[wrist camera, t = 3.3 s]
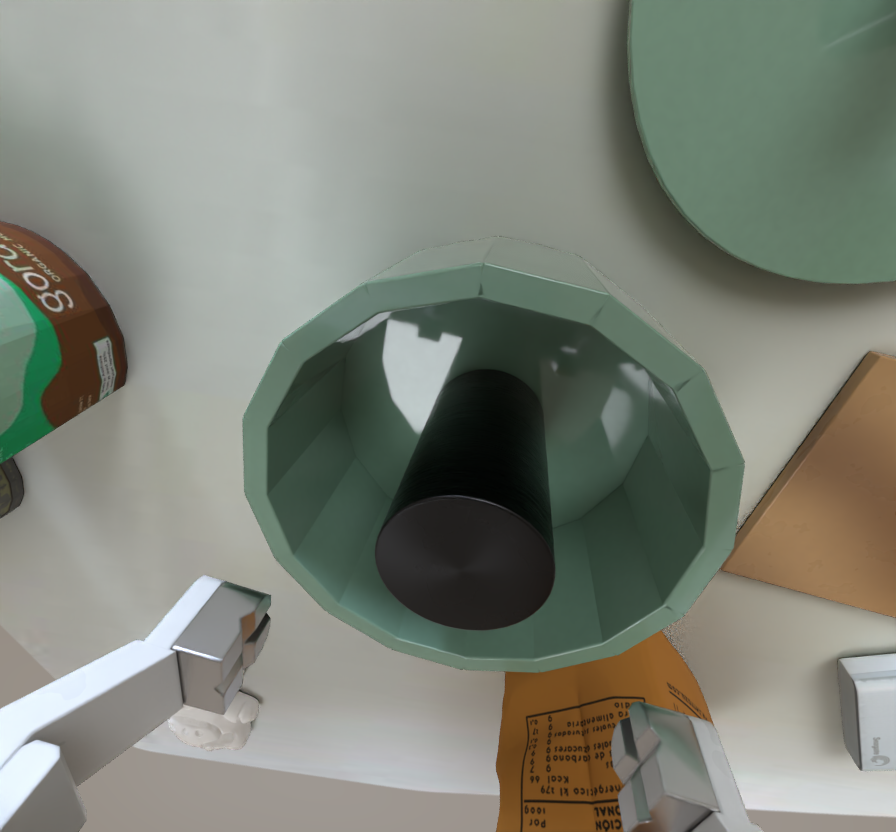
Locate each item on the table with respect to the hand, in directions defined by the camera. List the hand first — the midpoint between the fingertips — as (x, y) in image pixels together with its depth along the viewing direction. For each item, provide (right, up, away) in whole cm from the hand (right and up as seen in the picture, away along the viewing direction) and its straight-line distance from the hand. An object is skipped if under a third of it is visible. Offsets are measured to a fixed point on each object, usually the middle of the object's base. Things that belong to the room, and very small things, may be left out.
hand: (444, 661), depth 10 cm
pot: (+2, +5, +10) cm, 11 cm away
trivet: (+19, +2, +9) cm, 21 cm away
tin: (+2, +5, +9) cm, 11 cm away
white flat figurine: (-19, -15, +25) cm, 34 cm away
